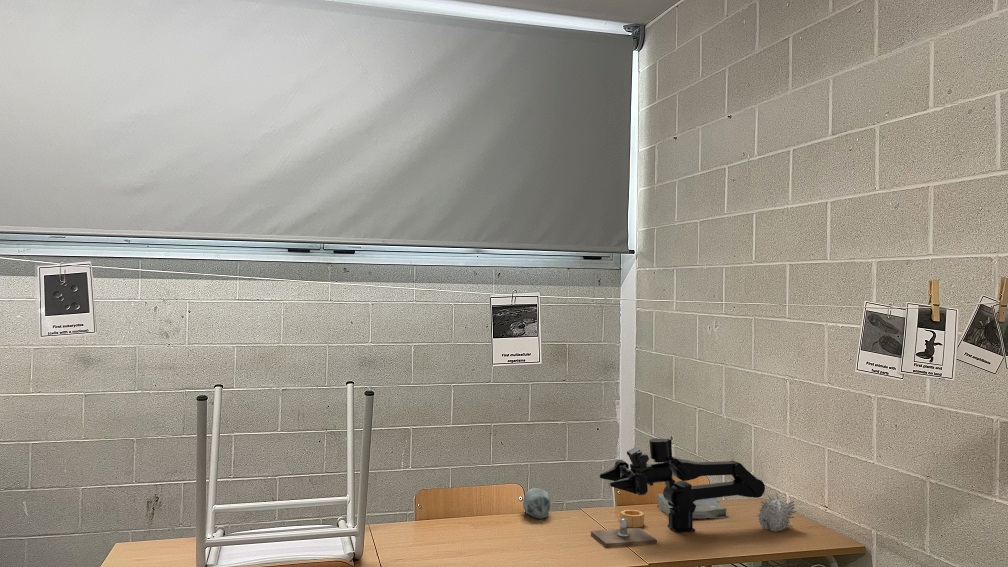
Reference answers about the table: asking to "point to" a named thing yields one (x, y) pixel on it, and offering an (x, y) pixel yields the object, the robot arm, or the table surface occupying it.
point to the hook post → (623, 528)
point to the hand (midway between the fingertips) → (605, 480)
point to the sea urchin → (775, 514)
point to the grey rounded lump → (537, 503)
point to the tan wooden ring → (633, 518)
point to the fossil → (698, 507)
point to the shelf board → (623, 538)
